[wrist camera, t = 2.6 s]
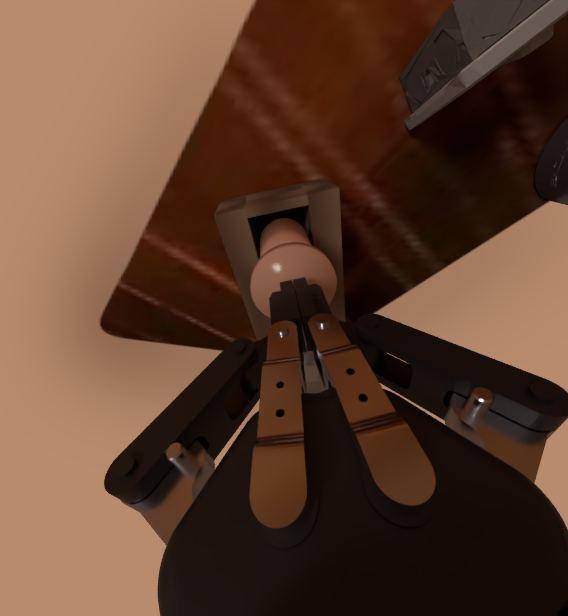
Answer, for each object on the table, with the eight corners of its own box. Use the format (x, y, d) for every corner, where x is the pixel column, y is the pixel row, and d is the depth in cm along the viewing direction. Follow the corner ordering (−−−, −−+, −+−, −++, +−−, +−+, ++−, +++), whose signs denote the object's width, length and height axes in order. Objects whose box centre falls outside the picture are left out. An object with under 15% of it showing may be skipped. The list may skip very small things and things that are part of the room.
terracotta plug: (310, 203, 19) (334, 238, 13) (316, 263, 22) (339, 313, 16) (245, 217, 19) (239, 258, 13) (261, 274, 22) (261, 329, 16)
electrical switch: (403, 133, 21) (479, 118, 13) (378, 68, 19) (451, 4, 11) (519, 43, 19) (700, -42, 11) (506, -45, 16) (720, -234, 8)
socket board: (325, 177, 23) (339, 187, 19) (334, 305, 32) (345, 330, 28) (221, 200, 23) (213, 215, 19) (259, 320, 32) (259, 347, 28)
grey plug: (320, 293, 24) (341, 348, 18) (324, 331, 27) (343, 389, 21) (269, 303, 24) (272, 361, 18) (279, 340, 27) (285, 400, 21)
